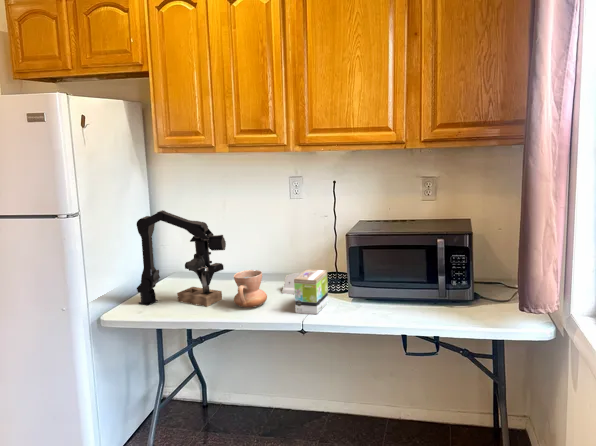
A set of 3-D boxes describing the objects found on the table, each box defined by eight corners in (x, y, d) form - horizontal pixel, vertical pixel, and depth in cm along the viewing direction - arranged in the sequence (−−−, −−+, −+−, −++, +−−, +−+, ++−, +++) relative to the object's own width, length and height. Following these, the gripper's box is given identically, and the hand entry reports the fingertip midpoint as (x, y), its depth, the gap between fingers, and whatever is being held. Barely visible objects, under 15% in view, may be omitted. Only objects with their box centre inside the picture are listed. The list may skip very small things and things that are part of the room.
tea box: (318, 314, 219) (316, 279, 217) (295, 313, 223) (292, 278, 220) (329, 302, 233) (327, 269, 230) (307, 301, 237) (304, 268, 234)
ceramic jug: (245, 297, 248) (242, 267, 245) (274, 299, 242) (271, 268, 239) (225, 311, 231) (221, 279, 229) (255, 313, 226) (252, 281, 223)
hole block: (178, 301, 249) (177, 292, 248) (193, 294, 257) (192, 286, 256) (207, 306, 239) (206, 297, 238) (222, 299, 247) (221, 291, 246)
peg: (201, 293, 244) (199, 272, 242) (206, 291, 246) (204, 270, 245) (206, 294, 242) (204, 273, 241) (211, 292, 245) (209, 271, 243)
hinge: (281, 293, 250) (282, 271, 251) (285, 293, 254) (287, 272, 256) (315, 295, 244) (316, 273, 245) (319, 295, 248) (320, 273, 249)
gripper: (174, 253, 239) (177, 287, 242) (205, 256, 229) (208, 292, 232) (192, 247, 249) (195, 280, 251) (222, 250, 238) (226, 285, 241)
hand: (205, 284), depth 244 cm, fingers closed on peg, 3 cm apart
